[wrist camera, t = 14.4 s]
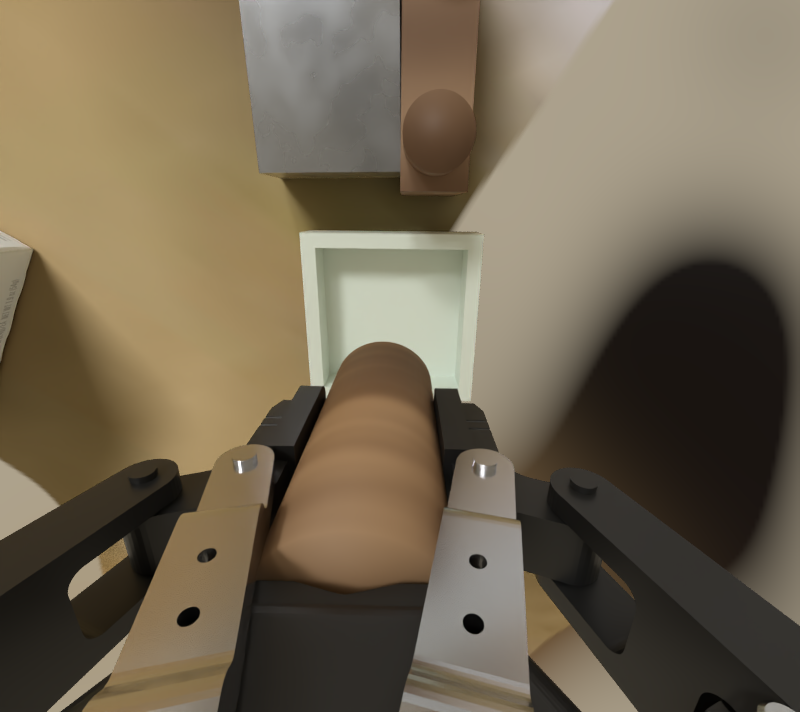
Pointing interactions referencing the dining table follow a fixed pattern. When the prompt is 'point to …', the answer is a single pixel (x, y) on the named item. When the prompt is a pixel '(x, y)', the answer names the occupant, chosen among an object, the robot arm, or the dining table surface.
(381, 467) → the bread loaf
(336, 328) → the tray
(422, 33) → the block
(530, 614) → the dining table surface
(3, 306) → the tea box
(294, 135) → the grey rectangular block
